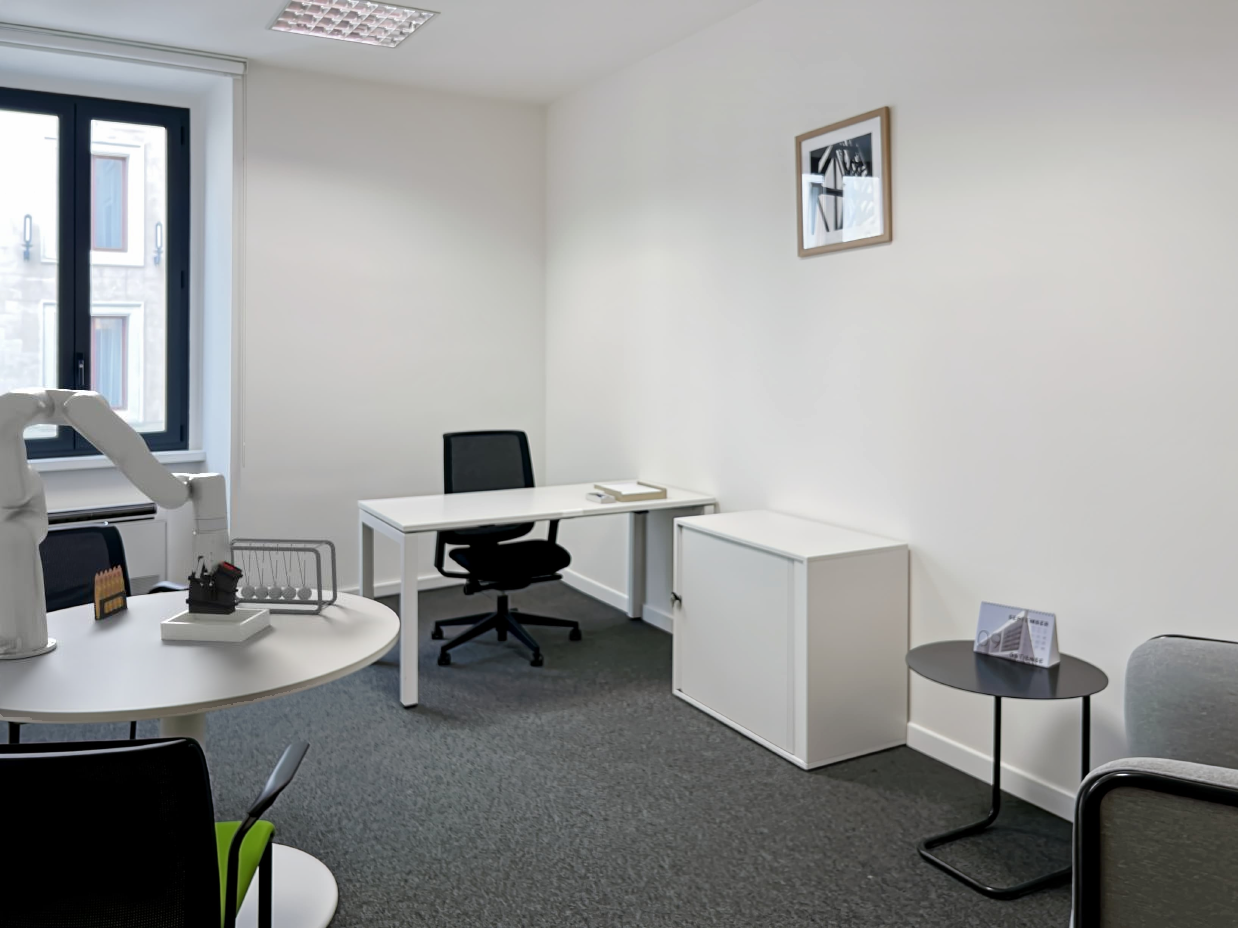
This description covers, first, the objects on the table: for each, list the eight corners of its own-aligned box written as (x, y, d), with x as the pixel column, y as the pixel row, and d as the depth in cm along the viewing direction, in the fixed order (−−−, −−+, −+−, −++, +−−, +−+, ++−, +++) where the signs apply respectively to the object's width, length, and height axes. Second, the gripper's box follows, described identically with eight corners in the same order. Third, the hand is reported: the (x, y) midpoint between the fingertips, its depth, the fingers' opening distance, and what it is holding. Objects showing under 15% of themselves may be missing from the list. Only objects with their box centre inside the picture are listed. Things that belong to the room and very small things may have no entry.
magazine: (184, 602, 225) (204, 549, 222) (229, 626, 224) (251, 573, 221) (174, 606, 221) (195, 552, 219) (221, 631, 220) (243, 577, 218)
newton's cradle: (338, 603, 247) (335, 539, 245) (321, 615, 237) (319, 548, 235) (233, 600, 250) (229, 537, 248) (212, 611, 240) (208, 545, 238)
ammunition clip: (101, 619, 232) (97, 574, 231) (94, 619, 233) (91, 573, 231) (127, 608, 243) (124, 564, 241) (121, 608, 243) (118, 564, 242)
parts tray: (240, 642, 214) (240, 625, 214) (161, 639, 217) (160, 622, 216) (270, 624, 228) (269, 609, 228) (195, 621, 230) (194, 606, 230)
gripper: (215, 517, 228) (219, 589, 230) (175, 530, 211) (180, 607, 214) (243, 518, 227) (247, 589, 229) (206, 531, 210) (210, 608, 213)
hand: (215, 597), depth 221 cm, fingers closed on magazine, 3 cm apart
